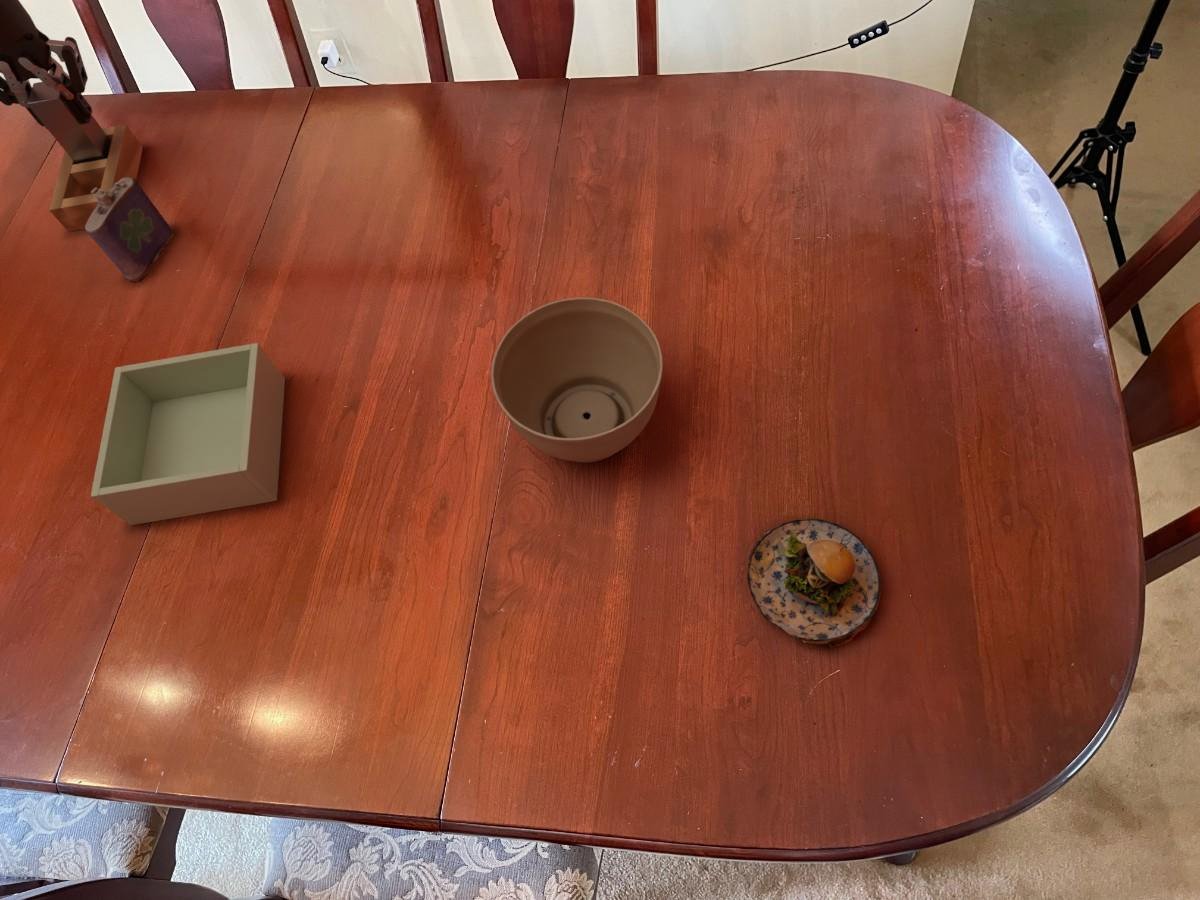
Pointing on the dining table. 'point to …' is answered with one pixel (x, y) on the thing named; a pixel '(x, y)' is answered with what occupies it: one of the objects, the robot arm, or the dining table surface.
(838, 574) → the burger
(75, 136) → the grey rectangular block
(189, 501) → the tub
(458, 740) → the dining table surface
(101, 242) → the flask
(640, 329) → the planter bowl
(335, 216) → the dining table surface
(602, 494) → the dining table surface
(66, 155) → the rack
